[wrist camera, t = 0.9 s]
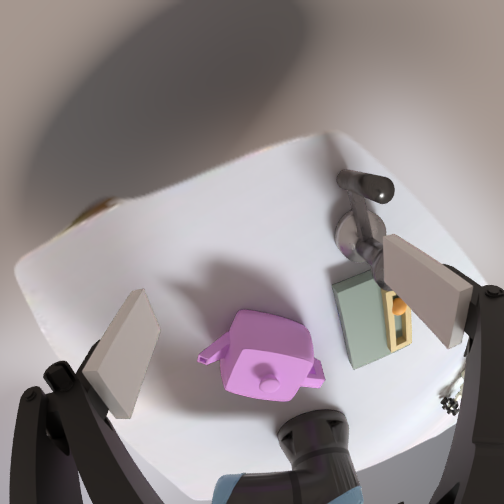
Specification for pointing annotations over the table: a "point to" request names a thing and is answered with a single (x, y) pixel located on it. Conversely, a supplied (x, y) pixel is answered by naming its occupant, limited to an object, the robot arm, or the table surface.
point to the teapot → (265, 357)
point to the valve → (453, 400)
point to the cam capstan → (364, 221)
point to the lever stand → (371, 319)
